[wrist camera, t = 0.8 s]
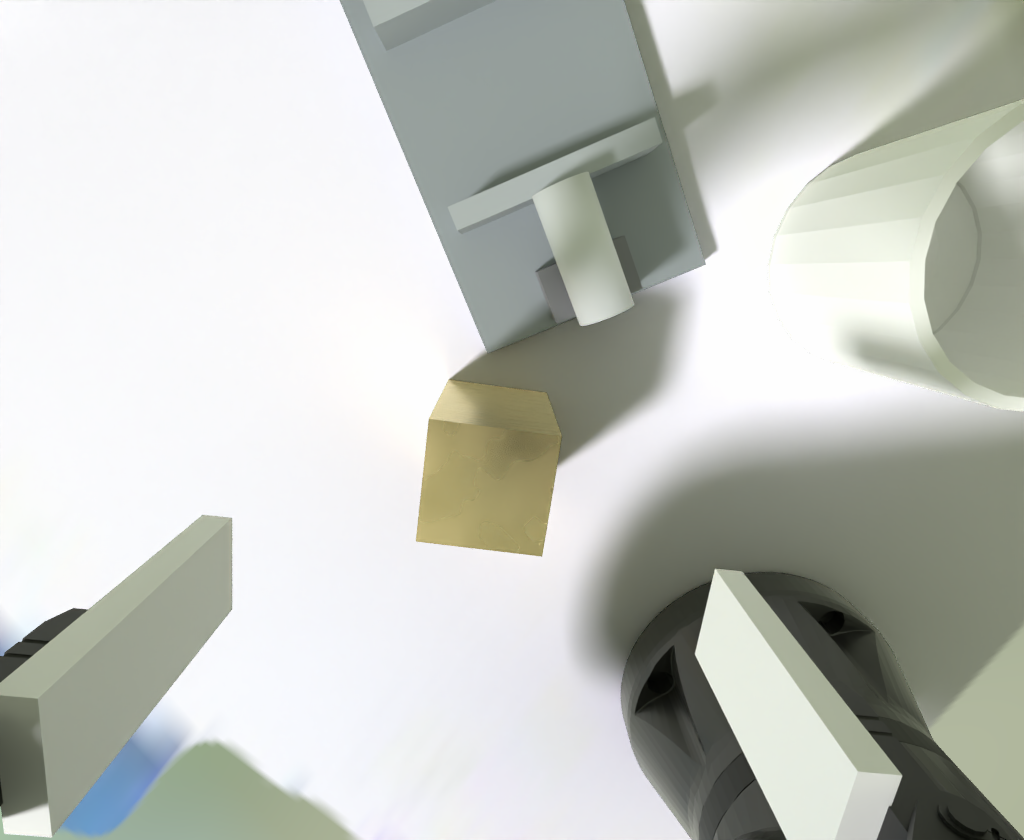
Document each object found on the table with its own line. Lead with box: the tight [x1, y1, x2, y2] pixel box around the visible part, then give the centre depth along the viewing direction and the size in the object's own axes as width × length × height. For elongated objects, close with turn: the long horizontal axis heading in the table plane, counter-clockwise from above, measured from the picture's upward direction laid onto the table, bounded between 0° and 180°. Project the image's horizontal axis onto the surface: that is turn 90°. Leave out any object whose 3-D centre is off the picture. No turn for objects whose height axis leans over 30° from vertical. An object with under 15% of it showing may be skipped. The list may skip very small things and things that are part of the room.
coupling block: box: [416, 380, 562, 556], centre depth 26 cm, size 5×5×8 cm
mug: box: [768, 99, 1024, 412], centre depth 23 cm, size 13×10×10 cm
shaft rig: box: [340, 0, 706, 353], centre depth 23 cm, size 20×11×5 cm, turn 22°
